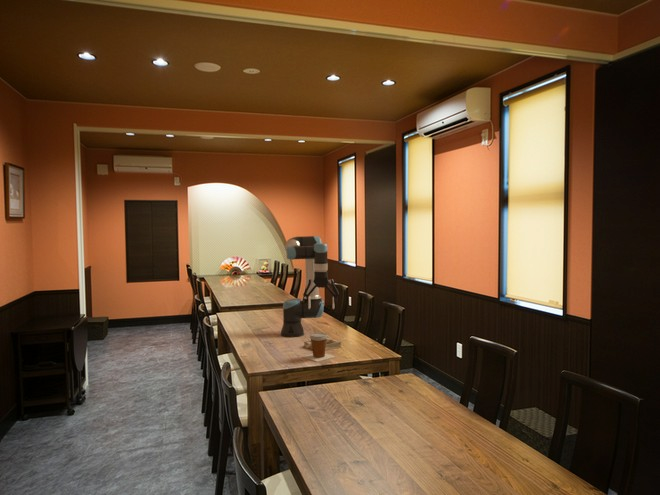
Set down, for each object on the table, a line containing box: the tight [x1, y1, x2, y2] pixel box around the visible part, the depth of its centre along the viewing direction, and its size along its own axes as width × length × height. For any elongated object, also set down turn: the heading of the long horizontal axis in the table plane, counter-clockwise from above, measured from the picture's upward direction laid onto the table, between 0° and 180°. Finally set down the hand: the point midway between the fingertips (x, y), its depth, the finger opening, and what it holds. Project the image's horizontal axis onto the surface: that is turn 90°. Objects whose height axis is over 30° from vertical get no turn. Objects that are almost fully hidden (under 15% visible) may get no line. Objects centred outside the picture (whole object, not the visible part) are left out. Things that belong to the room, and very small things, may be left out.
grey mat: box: [302, 352, 336, 363], centre depth 257 cm, size 13×13×1 cm
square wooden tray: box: [303, 337, 342, 352], centre depth 278 cm, size 15×15×3 cm
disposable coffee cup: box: [309, 332, 328, 358], centre depth 257 cm, size 10×10×12 cm
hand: (321, 308), depth 263 cm, fingers open, 13 cm apart
